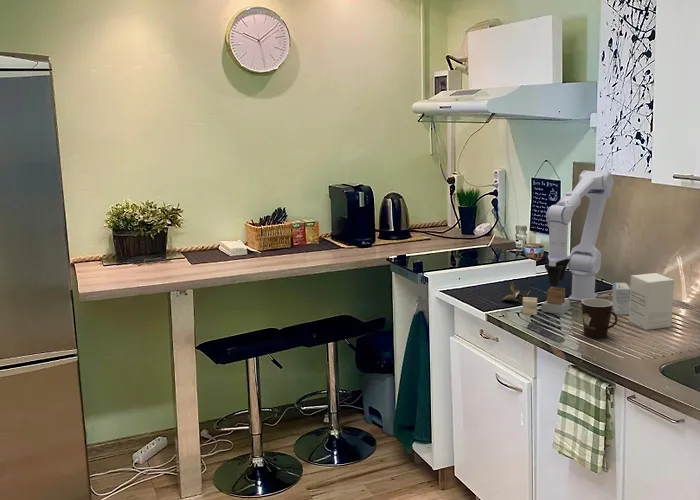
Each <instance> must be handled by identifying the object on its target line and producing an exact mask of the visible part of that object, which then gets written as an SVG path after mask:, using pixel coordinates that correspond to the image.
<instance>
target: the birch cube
mask: <svg viewBox="0 0 700 500" xmlns="http://www.w3.org/2000/svg"><path fill="white" fill-rule="evenodd" d="M522 315H534V316H537V315H538V297H528V296H527V297H523V305H522Z"/></svg>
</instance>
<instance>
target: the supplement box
mask: <svg viewBox="0 0 700 500" xmlns="http://www.w3.org/2000/svg"><path fill="white" fill-rule="evenodd" d="M674 287H675V280H674V279H673V278H670V277H668V276H664V275H662V274H660V273H657V272H654V273H644V274H643V273H642V274H634V275H630V286H629V288H630V305H629V315H628V322H629V323H631V324H633V325H635V326H637V327H639V328H641V329H644V330H645V331H647V330H648V331H649V330H655V329H656V330H657V329H664V328H671V327H672V321H673V305H674V303H673V302H674Z"/></svg>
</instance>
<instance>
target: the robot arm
mask: <svg viewBox="0 0 700 500" xmlns="http://www.w3.org/2000/svg"><path fill="white" fill-rule="evenodd" d="M614 183H615V181H614V176H613V174H612V172H611V171H596V170H594V171H593V170H587V169H586V170H583V171H581V173H580V174H579V177H578V183H577V184H576V186H575V187H574V188H573V190H572V191H566V192H565V194H564V195H563V196H562V197H561V198H560V199H559V201H557V203H555V204H552V205H551V206H549V207H548V208H547V211H546V213H545V218H546V222H547V228H548V229H549V231H548V232H549V233H548V255H547V258H548V259H547V260H548V263H545V264H544V268H545V270H546V272H547V275H548V280H549V285H550V287H557V286H558V285H559V282H560V281H564V278H565V274H566V270H567V268H568V269H569V270H570V273H571V274H572V276H571V277H572V279H571V294H570V295H569V296H568V300H569V301H579V302H581V301H582V300H584V299H589V298H597V296H598V293H596V292H595V291H596V275H597V273H599V271H600V270H601V266H602V253H601V252H600V250H599V249H598V248H597V247H596V244H597V240H598V236H599V232H600V228H601V224H602V220H603V219H602V218H603V215H604V211H605V208H606V203H607V200H608V199H609V198H611V195H612V192H613V187H614ZM584 196H586V197H587V198H588V199H589V205H588V207H587V213H586V217H585V221H584V226H583V229H582V235H581V237H580V243H578V244H577V245H576V246H574V247H572V248H571V251H570V254H569V255H568V234H569V233H568V231H569V224H570V223H571V221H572V219H573V216H574V212H575V211H576V209H577V208H579V207H580V205H581V204H582V198H583V197H584Z"/></svg>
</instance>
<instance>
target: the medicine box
mask: <svg viewBox="0 0 700 500" xmlns="http://www.w3.org/2000/svg"><path fill="white" fill-rule="evenodd" d="M611 290H612V291H611V292H612V293H611V302H612V303H613V305H612V310H613V312H614V313H615V314H616V315H619V316H622V315H623V316H625V315H626V316H629V305H630V286H629V285H628V283H626V282H613V283H612V289H611Z"/></svg>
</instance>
